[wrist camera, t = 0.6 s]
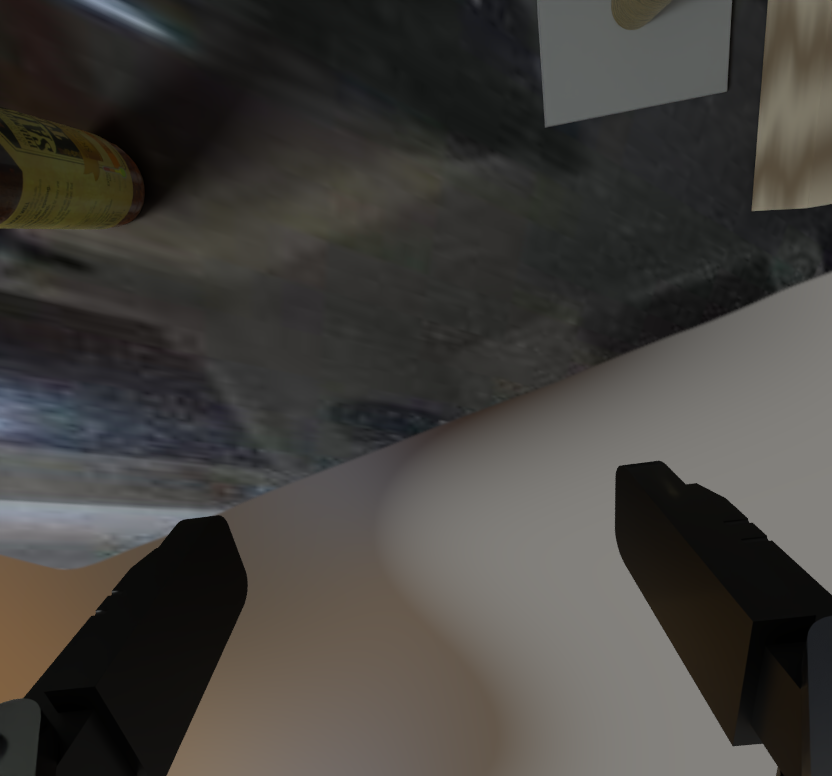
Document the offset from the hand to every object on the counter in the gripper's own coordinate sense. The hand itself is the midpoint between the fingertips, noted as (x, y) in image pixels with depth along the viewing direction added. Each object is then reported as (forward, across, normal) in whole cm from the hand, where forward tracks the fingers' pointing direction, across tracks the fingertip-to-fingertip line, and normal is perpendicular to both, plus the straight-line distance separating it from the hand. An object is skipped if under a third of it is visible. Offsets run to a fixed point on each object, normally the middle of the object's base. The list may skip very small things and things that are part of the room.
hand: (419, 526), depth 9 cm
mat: (+28, -16, -16) cm, 36 cm away
